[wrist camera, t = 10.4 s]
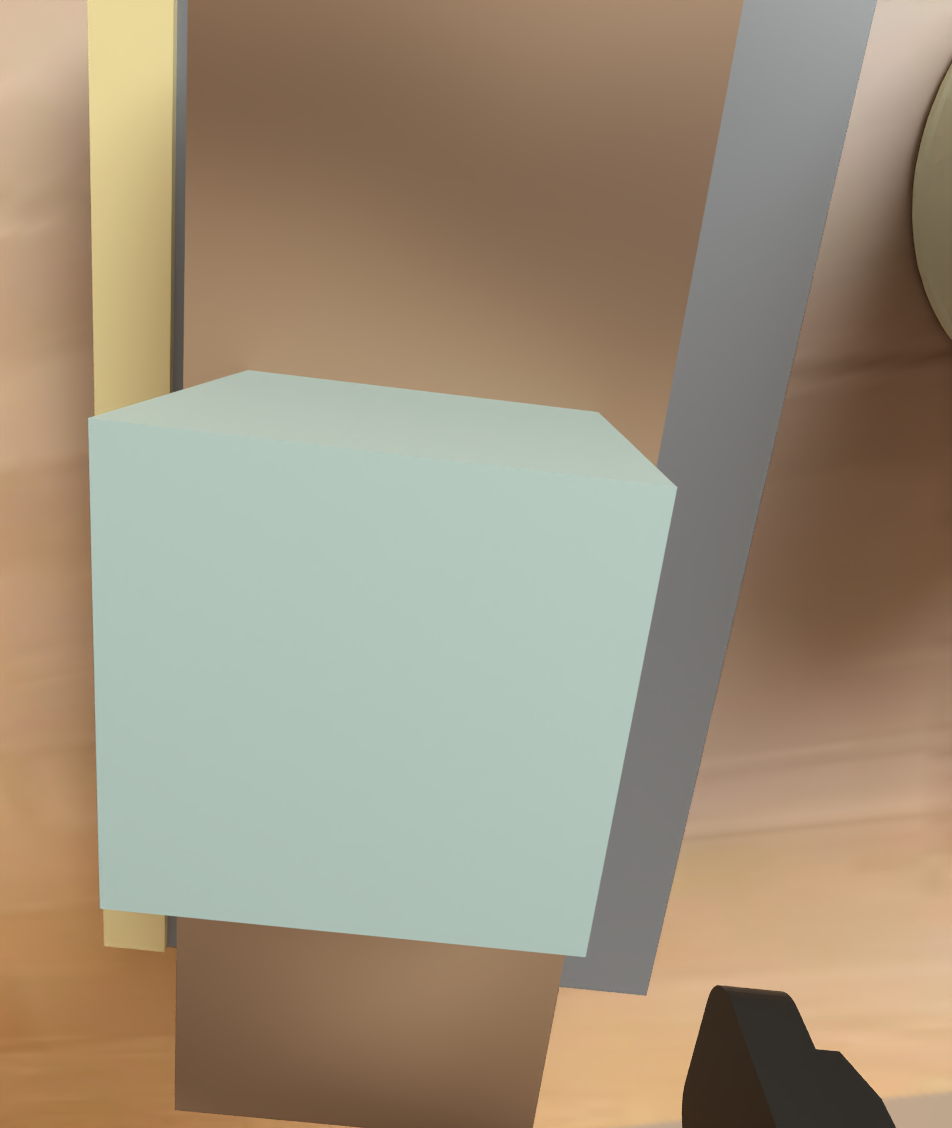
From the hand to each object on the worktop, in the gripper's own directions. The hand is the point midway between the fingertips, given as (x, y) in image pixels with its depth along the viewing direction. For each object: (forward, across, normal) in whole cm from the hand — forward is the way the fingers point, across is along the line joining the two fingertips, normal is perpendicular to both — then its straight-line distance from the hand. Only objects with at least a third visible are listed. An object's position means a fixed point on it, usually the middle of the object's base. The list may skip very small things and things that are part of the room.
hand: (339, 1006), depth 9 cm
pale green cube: (+3, 0, -4) cm, 5 cm away
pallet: (+6, 0, -3) cm, 7 cm away
